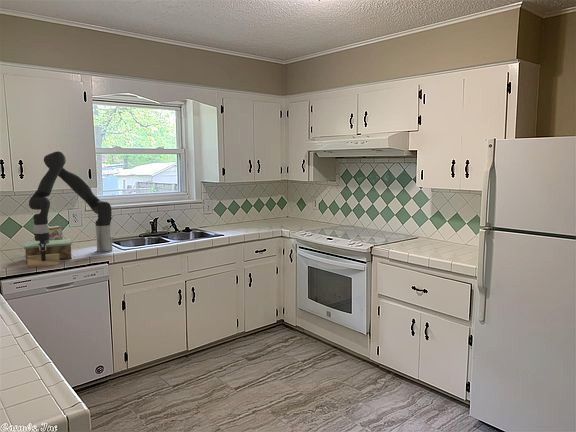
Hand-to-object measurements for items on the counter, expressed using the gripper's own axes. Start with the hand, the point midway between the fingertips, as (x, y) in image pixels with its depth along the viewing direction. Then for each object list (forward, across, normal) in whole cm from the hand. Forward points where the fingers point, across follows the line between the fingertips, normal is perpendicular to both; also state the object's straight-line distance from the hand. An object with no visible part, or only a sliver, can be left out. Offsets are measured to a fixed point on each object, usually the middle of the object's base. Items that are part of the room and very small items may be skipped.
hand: (43, 259), depth 259 cm
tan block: (+3, 0, 0) cm, 4 cm away
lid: (-6, -16, +3) cm, 17 cm away
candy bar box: (+3, -41, +6) cm, 42 cm away
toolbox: (+3, -16, +3) cm, 17 cm away
